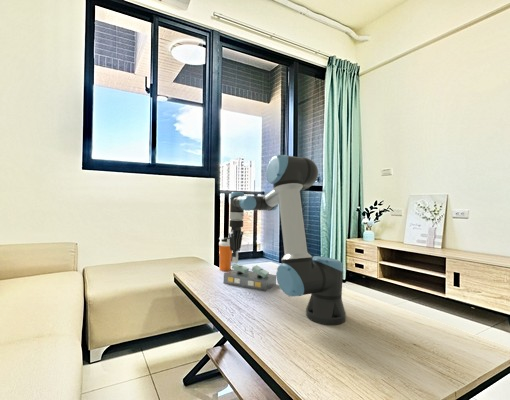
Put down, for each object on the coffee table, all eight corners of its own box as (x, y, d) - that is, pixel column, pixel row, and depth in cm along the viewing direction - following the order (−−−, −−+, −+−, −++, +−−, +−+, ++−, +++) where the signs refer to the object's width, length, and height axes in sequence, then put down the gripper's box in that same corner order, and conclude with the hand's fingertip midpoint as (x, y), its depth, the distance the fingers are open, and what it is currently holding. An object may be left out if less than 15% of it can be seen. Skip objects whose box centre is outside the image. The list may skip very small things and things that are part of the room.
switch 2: (264, 277, 143) (265, 274, 142) (251, 270, 146) (252, 266, 145) (267, 275, 147) (269, 272, 146) (255, 268, 150) (256, 264, 150)
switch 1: (244, 273, 148) (245, 269, 147) (231, 268, 151) (232, 264, 151) (248, 271, 152) (249, 267, 152) (236, 266, 155) (236, 262, 155)
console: (265, 291, 137) (266, 278, 137) (223, 283, 148) (223, 271, 148) (275, 284, 149) (276, 272, 149) (235, 277, 160) (236, 266, 160)
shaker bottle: (233, 268, 181) (234, 237, 181) (230, 271, 172) (231, 239, 172) (219, 267, 182) (220, 237, 182) (216, 270, 173) (217, 238, 173)
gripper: (236, 220, 145) (234, 265, 145) (248, 219, 157) (246, 261, 157) (224, 220, 149) (222, 263, 149) (236, 218, 160) (235, 259, 160)
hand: (235, 262), depth 153 cm, fingers closed
